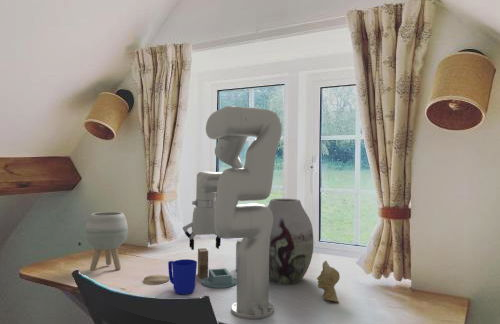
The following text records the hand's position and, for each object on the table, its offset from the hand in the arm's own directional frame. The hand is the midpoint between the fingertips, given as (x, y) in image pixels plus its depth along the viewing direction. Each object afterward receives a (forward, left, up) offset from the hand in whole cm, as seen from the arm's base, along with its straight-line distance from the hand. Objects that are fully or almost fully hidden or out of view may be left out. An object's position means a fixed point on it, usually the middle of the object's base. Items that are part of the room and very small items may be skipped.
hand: (204, 248), depth 144 cm
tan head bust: (-35, -34, -11) cm, 50 cm away
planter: (+20, +37, -11) cm, 44 cm away
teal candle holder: (-9, -4, -11) cm, 14 cm away
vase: (-12, -28, -11) cm, 32 cm away
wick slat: (+1, +1, -11) cm, 11 cm away
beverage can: (+6, -17, -11) cm, 21 cm away
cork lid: (-1, +18, -11) cm, 21 cm away
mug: (-14, +11, -11) cm, 21 cm away
